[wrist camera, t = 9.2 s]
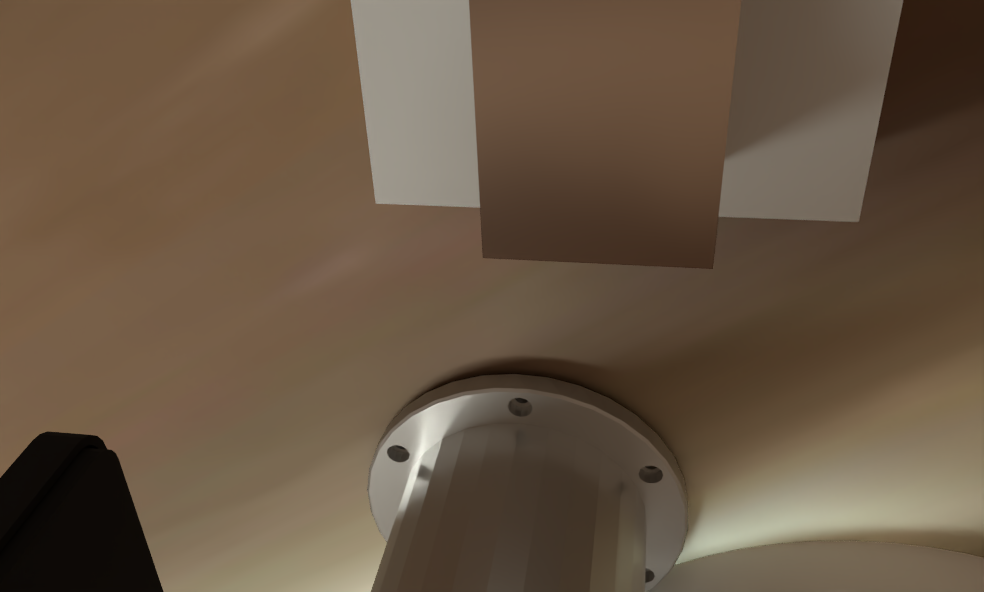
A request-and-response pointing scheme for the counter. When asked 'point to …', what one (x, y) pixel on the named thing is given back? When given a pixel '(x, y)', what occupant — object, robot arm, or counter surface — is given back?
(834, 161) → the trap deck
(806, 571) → the dome cover
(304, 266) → the counter surface
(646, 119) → the walnut bar
